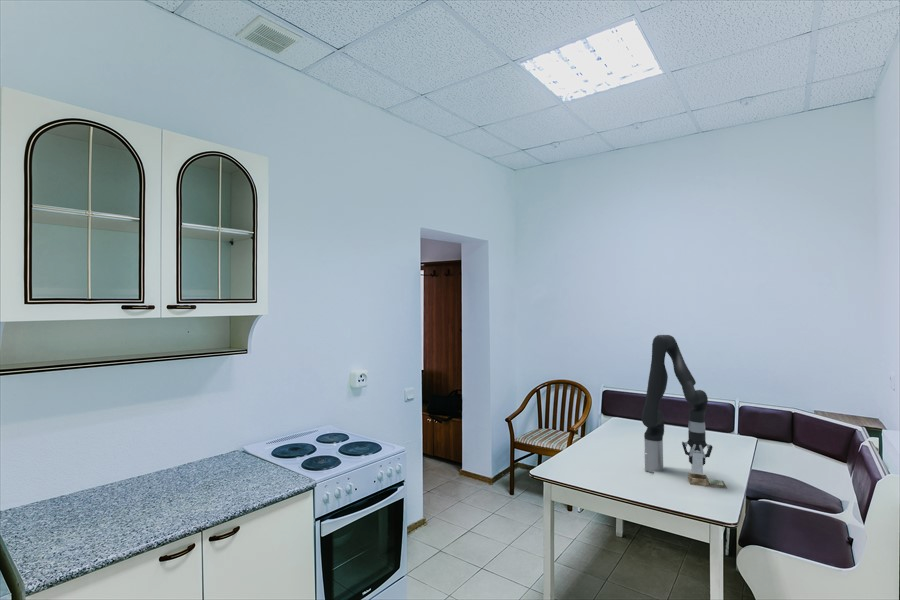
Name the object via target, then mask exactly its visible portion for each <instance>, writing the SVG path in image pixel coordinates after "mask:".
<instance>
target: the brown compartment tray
mask: <svg viewBox="0 0 900 600" xmlns="http://www.w3.org/2000/svg"><path fill="white" fill-rule="evenodd" d="M687 479H688V481H689V484H690V486H691V485H693V486H699V487H700V486H701V487H707V488H717V489H726V490H727V489H728V487H727V485H726V484H725V481H723V480H721V479H720V480H719V479H709V478H708V476H707V474H704V473H703V474H699V473H693V472H688V473H687Z"/></svg>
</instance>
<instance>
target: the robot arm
mask: <svg viewBox="0 0 900 600" xmlns="http://www.w3.org/2000/svg"><path fill="white" fill-rule="evenodd" d="M651 345H652V346H651V347H652V348H651V361H650V369H649V374H648V375H649V376H648V380H647V388H646V389H647V390H646V395H645V402H644V405H643V409H642V412H641V422H642V424H643V425H644V426H645V427H646V430H645V432H644V435H643V436H644V437H643V438H644V442H643V443H644V471H645V472H649V473H652V474H654V473H655V472H663V471H664V434H665V416H664V414H663V411H661V410H660V409H659V406H660V403H661V400H662V398H663V397H664V395H665V392H666V390H667V386H668V378H669V377H668V376H669V375H668V372H667V368H666V363H665V360H666V354H668V356H669V357H670V359H671V361H672V366H673V367H672V368H673V372H674V375H675V377H676V378H677V381H678V382H679V385H680V386H681V389H682V393H683V396H684V399H685V401H687V403H688V404H690V405H692V408H690V409H689V411H688V427H687V428H688V432H687V433H688V439H687V441H681V445H682V447H683V451H684V454H685V455H686V456H688V463H689V464H690V465H691V464H692V452H694V451H701V453H703V466H705V465H706V458H710V456H711V453H712V451H713V448H714V447H713V445H712V444H708V443H707V441H706V420H705V419H706V418H705V417H706V415H705V414H706V411H707V407H708V400H709V399H708V395H707V393H706V392H705V390H702V389H697V390H696V389H695V385H696V380H695V378H694V376H693V374H692V373H691V371H690V369H689V368H688V365H687V364H686V362H685V359H684V357H683V354H682V352H681V350H680V347H679V344H678V342H677V340H676V338H675V337H674V336H672V335H670V334H657V335H656V336H654V338H653V339H652V344H651ZM688 446H689V447H690V448H689V451H688V450H687V447H688ZM705 448H707V450H706V453H705V451H704V449H705Z"/></svg>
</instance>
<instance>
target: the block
mask: <svg viewBox="0 0 900 600" xmlns="http://www.w3.org/2000/svg"><path fill="white" fill-rule="evenodd" d="M690 465H691V466H690V467H691V473H694V474H703V475H704V465H703V453H701V451H694V452H692V464H691V463H690Z"/></svg>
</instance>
